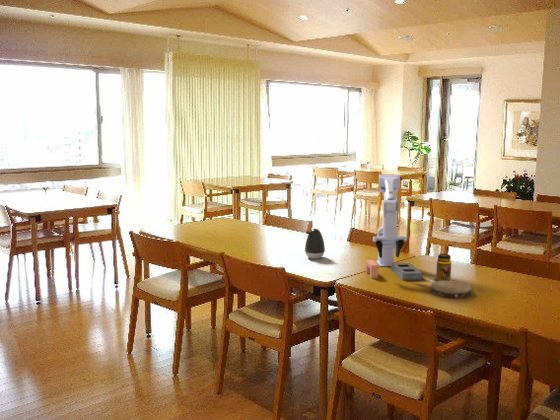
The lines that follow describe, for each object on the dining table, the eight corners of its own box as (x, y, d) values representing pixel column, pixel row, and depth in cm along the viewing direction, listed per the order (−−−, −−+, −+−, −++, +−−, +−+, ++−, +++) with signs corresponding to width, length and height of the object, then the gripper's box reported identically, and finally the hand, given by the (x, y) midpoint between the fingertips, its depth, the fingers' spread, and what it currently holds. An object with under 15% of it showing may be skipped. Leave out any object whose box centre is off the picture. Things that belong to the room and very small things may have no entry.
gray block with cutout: (390, 269, 266) (390, 263, 266) (409, 268, 267) (409, 262, 267) (402, 280, 249) (402, 273, 248) (422, 279, 249) (422, 273, 249)
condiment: (449, 284, 242) (450, 257, 240) (429, 282, 246) (430, 255, 244) (452, 280, 248) (454, 254, 246) (433, 278, 252) (434, 251, 250)
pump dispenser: (300, 256, 290) (301, 227, 288) (318, 254, 295) (318, 226, 292) (310, 261, 281) (311, 231, 279) (328, 258, 286) (329, 229, 283)
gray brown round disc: (425, 287, 239) (425, 281, 238) (462, 287, 240) (462, 280, 239) (438, 299, 223) (439, 292, 222) (477, 299, 224) (478, 291, 224)
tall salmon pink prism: (365, 272, 261) (366, 259, 260) (372, 272, 261) (372, 259, 260) (371, 278, 251) (371, 265, 250) (377, 278, 252) (378, 265, 251)
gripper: (376, 229, 243) (375, 259, 246) (408, 228, 245) (407, 258, 247) (371, 225, 250) (371, 255, 253) (403, 225, 252) (402, 254, 254)
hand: (388, 257), depth 250 cm, fingers open, 7 cm apart
